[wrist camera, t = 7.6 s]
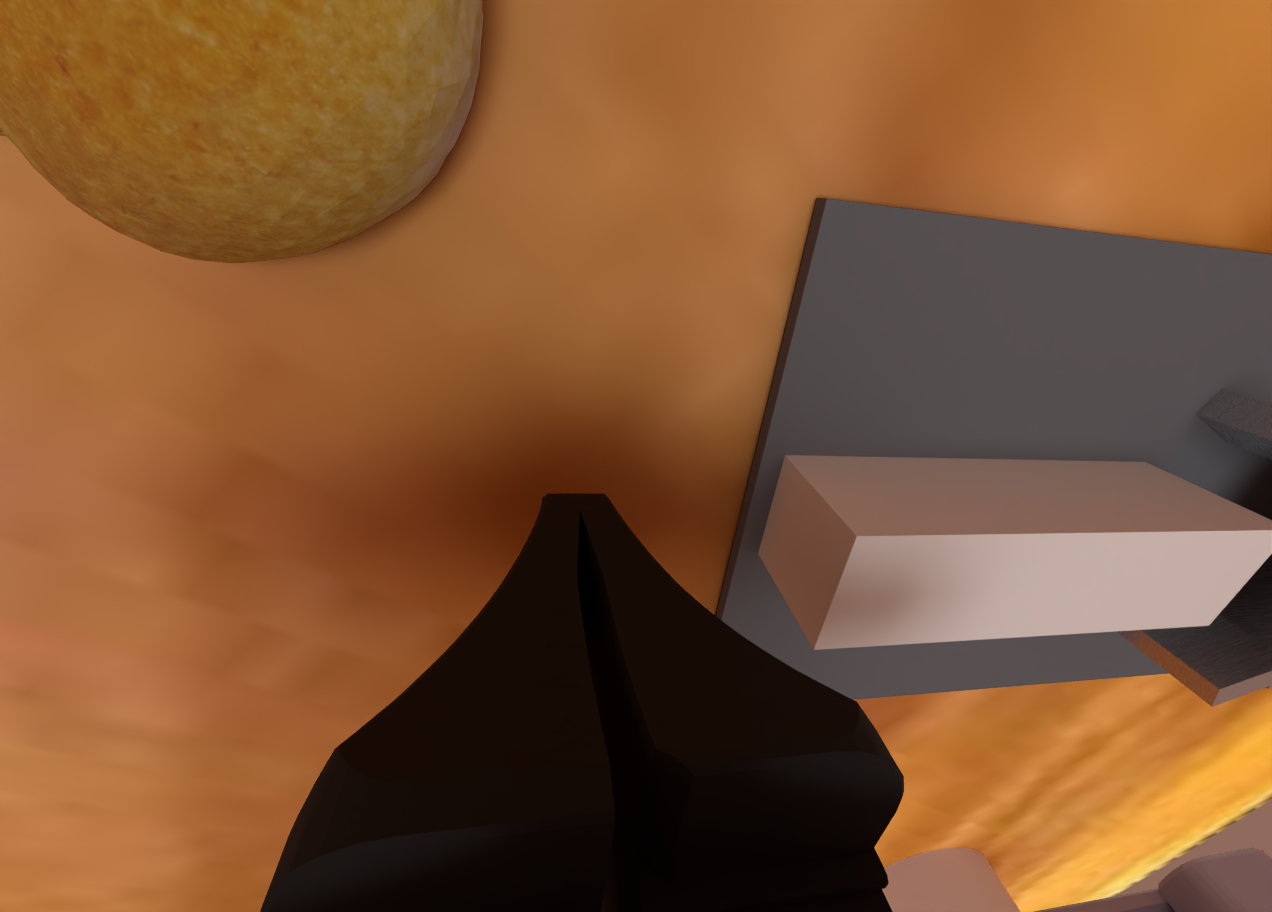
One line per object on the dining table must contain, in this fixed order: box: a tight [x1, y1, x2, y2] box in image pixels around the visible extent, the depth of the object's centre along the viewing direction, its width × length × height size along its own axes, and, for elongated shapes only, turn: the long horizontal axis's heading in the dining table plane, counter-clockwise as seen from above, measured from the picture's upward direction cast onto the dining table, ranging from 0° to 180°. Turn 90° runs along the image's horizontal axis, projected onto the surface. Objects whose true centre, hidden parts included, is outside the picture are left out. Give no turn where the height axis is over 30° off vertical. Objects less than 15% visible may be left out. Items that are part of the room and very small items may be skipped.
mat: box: [716, 198, 1272, 700], centre depth 15 cm, size 15×21×1 cm
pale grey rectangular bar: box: [758, 455, 1272, 650], centre depth 12 cm, size 11×3×3 cm, turn 84°
